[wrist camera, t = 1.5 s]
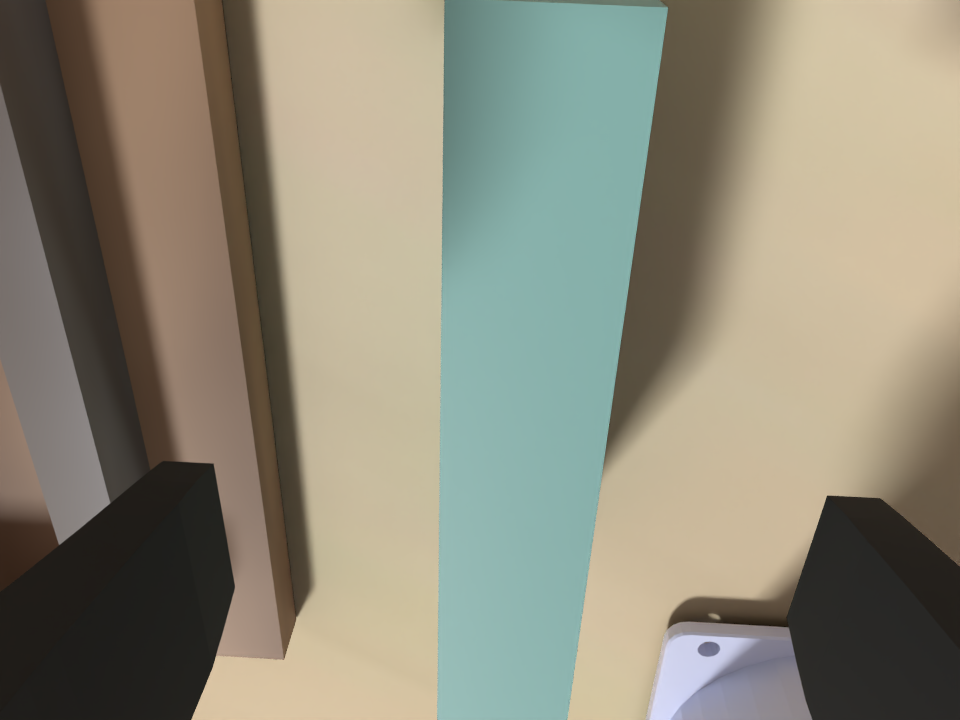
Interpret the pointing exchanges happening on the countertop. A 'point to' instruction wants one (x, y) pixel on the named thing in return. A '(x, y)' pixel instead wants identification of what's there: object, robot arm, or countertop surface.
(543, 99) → the door panel
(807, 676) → the robot arm
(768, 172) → the countertop surface
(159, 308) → the track base
